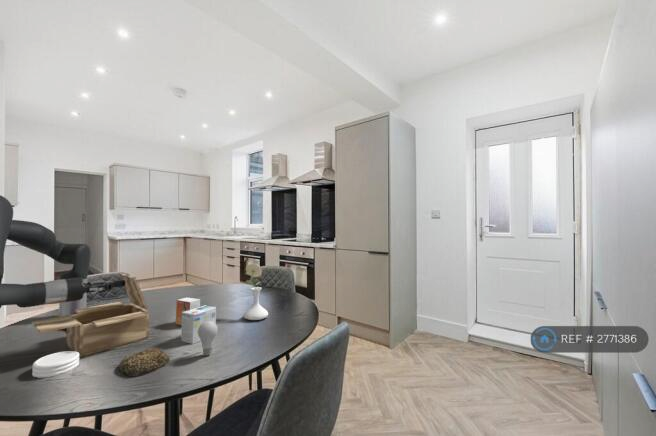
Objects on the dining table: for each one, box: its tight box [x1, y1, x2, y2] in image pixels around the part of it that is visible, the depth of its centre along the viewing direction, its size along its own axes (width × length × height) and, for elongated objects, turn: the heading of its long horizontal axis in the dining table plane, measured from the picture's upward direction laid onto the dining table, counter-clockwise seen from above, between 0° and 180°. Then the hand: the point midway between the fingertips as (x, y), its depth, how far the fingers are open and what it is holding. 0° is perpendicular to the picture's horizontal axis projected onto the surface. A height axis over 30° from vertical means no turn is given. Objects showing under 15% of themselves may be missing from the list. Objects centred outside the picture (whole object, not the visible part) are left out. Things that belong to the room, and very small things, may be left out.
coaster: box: [31, 350, 80, 379], centre depth 84 cm, size 10×10×4 cm
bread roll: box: [118, 348, 171, 377], centre depth 87 cm, size 13×12×5 cm
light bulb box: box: [180, 304, 217, 345], centre depth 108 cm, size 11×7×11 cm, turn 154°
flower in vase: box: [242, 263, 269, 321], centre depth 132 cm, size 13×11×25 cm
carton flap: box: [118, 272, 149, 310], centre depth 110 cm, size 14×1×13 cm, turn 54°
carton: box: [31, 301, 150, 359], centre depth 100 cm, size 26×29×11 cm
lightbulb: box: [198, 321, 219, 356], centre depth 94 cm, size 6×6×11 cm
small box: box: [175, 296, 201, 326], centre depth 123 cm, size 8×6×10 cm
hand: (124, 282), depth 108 cm, fingers closed
